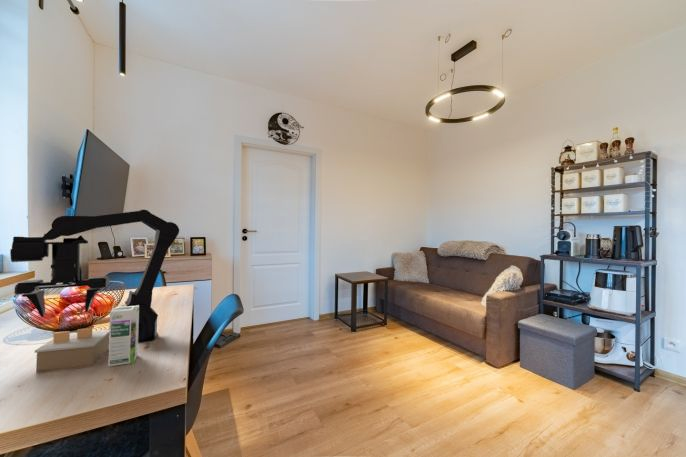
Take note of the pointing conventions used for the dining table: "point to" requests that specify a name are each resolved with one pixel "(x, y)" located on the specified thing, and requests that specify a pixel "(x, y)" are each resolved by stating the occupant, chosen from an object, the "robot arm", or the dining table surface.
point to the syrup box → (123, 335)
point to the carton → (71, 357)
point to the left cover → (67, 342)
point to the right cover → (87, 334)
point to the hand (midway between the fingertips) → (65, 314)
